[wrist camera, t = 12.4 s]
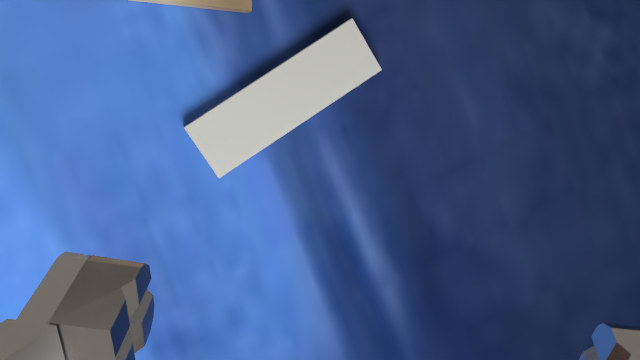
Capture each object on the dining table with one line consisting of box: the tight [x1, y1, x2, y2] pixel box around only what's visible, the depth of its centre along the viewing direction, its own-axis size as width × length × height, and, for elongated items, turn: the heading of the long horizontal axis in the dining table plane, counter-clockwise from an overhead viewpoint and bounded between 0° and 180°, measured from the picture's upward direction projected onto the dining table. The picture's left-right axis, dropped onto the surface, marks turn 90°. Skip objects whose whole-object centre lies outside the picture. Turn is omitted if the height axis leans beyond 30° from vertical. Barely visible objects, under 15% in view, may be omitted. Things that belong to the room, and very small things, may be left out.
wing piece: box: [184, 19, 382, 178], centre depth 30 cm, size 10×3×1 cm, turn 122°
